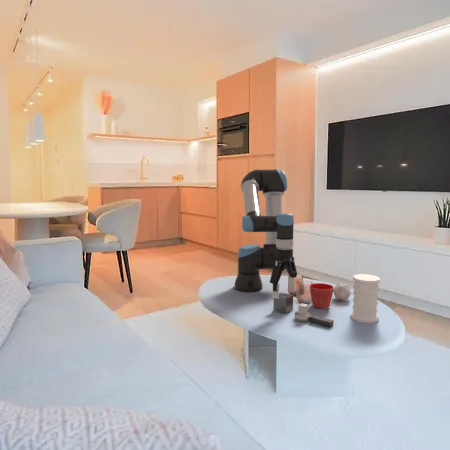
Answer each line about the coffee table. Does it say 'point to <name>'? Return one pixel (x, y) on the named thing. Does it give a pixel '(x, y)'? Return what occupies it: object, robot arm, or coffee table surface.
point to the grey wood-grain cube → (283, 303)
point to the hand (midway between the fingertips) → (283, 294)
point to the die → (342, 292)
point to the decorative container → (365, 298)
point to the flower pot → (321, 295)
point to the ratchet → (311, 317)
